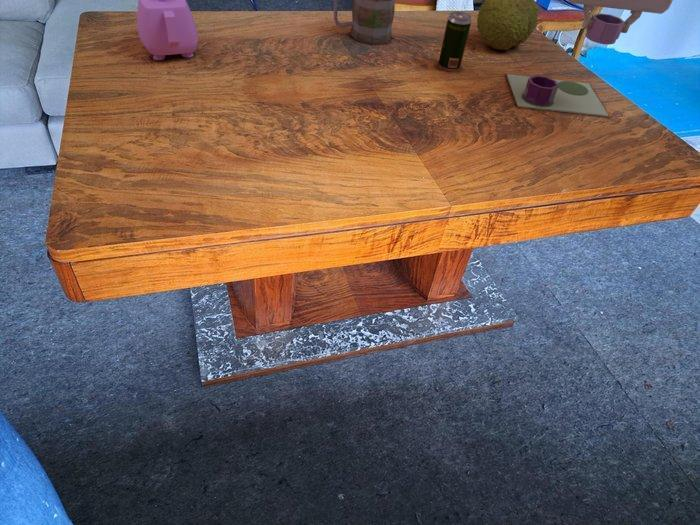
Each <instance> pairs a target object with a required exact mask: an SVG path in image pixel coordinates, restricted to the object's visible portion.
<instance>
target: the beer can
mask: <svg viewBox="0 0 700 525" xmlns="http://www.w3.org/2000/svg"><path fill="white" fill-rule="evenodd" d="M471 24H472V16H471V14H469V13H468V12H463V11H458V10H457V11H456V10H455V11H451V12H450V13H449V15H448V17H447V19H446V24H445V29H444V35H443V40H442V44H441V49H440V54H439V58H438V68H440V70H442V71H445V72H450V73H451V72H452V73H453V72H457V71H458V70H460V68H461V66H462V61H463V58H464V53H465V49H466V45H467V41H468V38H469V34H470V28H471Z"/></svg>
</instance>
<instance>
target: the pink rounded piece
mask: <svg viewBox="0 0 700 525" xmlns="http://www.w3.org/2000/svg"><path fill="white" fill-rule="evenodd" d="M192 13H193V12H192V11H191V9H190V6H189V4H188V3H187V0H138V2H137V12H136V28H137V34H138V38H139V40H140V42H141V44H142V45H143V47H144V48H145V49H146V50H147V52H149V54H151V55H153V56H152V57H153V58H152V59H153V60H155V61H162V60H163V61H164V59H166V56H171V55H172V56H173V55H181V57H183V58H193V57H194V53H193V52H195V51H196V50H197V47H198V43H199V35H198V34H199V33H198V30H197V26H196V21H195V18H194V15H193V14H192Z"/></svg>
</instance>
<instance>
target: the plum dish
mask: <svg viewBox="0 0 700 525" xmlns="http://www.w3.org/2000/svg"><path fill="white" fill-rule="evenodd" d="M529 77H530V78H529V79H528V82H527V85H526V87H525V90H524V99H525V100H526V101H528V102H530V103H532V104H535V105H540V106H546V105H549V104H551V102H552V100H554V97H555V95H556V92H557V89H558V87H559V85H558V83H557V81H555V80H556V79H555V80H553V79H554V78H550V77H549V76H545V75H531V76H529Z"/></svg>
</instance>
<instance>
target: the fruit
mask: <svg viewBox="0 0 700 525" xmlns="http://www.w3.org/2000/svg"><path fill="white" fill-rule="evenodd" d="M539 11H540V9H539V7H538V5H537V2H535V0H484V1H483V3H481V5H480V8H479V10H478V14H477V18H476V22H477V25H476V29H477V31H478V33H479V36H480V38H481V40H482V41H483V42H484V43H485V44H486V45H487V46H489V47H490V48H492V49H493V50H501V51H503V50H504V51H506V50H507V51H508V50H509V49H511V48H512V47H514V46H515V47H516V46H519V45H521V44H523V43H525V42H526V41H527V40H528V38H530V37H531V35H532V33H533V32H534V31H535V29H536V27H537V24H538V23H537V22H538V20H539Z"/></svg>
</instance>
